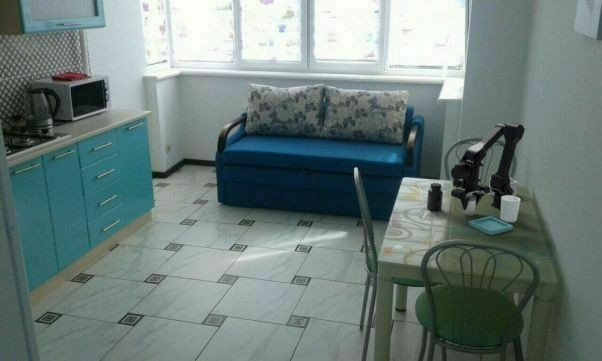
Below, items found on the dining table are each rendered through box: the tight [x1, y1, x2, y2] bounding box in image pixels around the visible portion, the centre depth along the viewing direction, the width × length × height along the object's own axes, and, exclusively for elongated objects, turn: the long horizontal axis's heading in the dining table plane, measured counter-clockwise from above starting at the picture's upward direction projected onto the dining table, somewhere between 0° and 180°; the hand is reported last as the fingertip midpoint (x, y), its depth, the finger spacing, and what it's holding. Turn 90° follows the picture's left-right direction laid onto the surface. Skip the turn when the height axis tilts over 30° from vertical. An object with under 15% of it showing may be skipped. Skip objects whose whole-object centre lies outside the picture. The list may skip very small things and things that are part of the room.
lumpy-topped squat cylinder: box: [487, 176, 518, 197], centre depth 277 cm, size 10×13×9 cm
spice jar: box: [462, 193, 476, 216], centre depth 252 cm, size 5×5×8 cm
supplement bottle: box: [426, 182, 444, 212], centre depth 257 cm, size 7×7×12 cm
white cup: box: [500, 195, 521, 223], centre depth 244 cm, size 8×8×10 cm
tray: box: [468, 215, 514, 236], centre depth 237 cm, size 13×13×2 cm
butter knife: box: [421, 210, 432, 220], centre depth 246 cm, size 1×24×3 cm
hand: (469, 208), depth 252 cm, fingers closed on spice jar, 5 cm apart
